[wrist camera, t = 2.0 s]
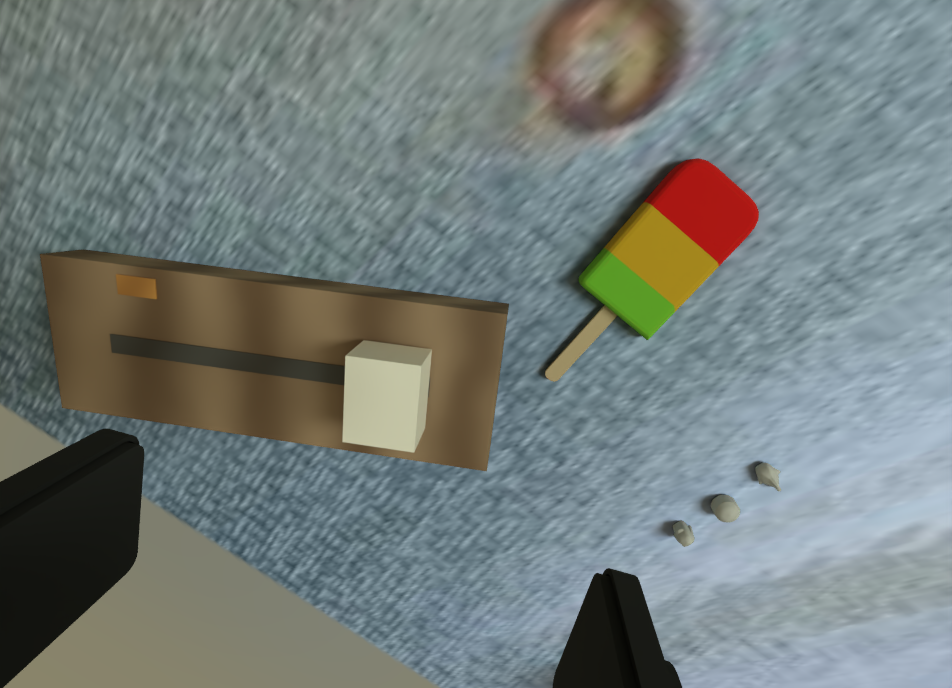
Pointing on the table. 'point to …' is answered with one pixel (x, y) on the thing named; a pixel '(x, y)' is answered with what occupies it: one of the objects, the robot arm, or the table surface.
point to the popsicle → (663, 253)
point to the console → (262, 350)
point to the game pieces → (727, 504)
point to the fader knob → (386, 395)
